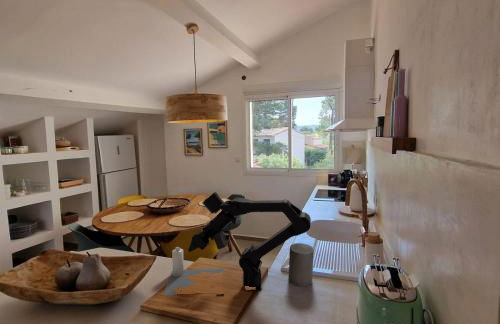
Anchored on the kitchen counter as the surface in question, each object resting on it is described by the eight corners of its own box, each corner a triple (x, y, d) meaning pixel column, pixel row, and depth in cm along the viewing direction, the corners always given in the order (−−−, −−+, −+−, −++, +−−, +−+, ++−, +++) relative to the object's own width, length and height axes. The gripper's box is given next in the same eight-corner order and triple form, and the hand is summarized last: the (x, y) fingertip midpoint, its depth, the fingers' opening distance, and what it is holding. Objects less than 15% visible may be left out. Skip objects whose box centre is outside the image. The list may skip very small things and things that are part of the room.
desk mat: (224, 270, 119) (224, 268, 119) (224, 294, 101) (224, 292, 101) (172, 272, 116) (172, 270, 116) (162, 297, 99) (162, 295, 99)
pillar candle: (283, 276, 114) (284, 242, 112) (302, 271, 118) (303, 238, 117) (298, 289, 105) (299, 252, 104) (317, 283, 110) (319, 247, 108)
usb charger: (185, 272, 115) (185, 245, 114) (180, 277, 111) (180, 250, 110) (175, 270, 116) (175, 244, 115) (170, 275, 112) (170, 249, 111)
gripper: (226, 247, 98) (197, 273, 101) (239, 229, 116) (215, 251, 119) (205, 224, 98) (177, 250, 102) (222, 209, 117) (198, 232, 120)
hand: (193, 246), depth 111 cm, fingers open, 9 cm apart
